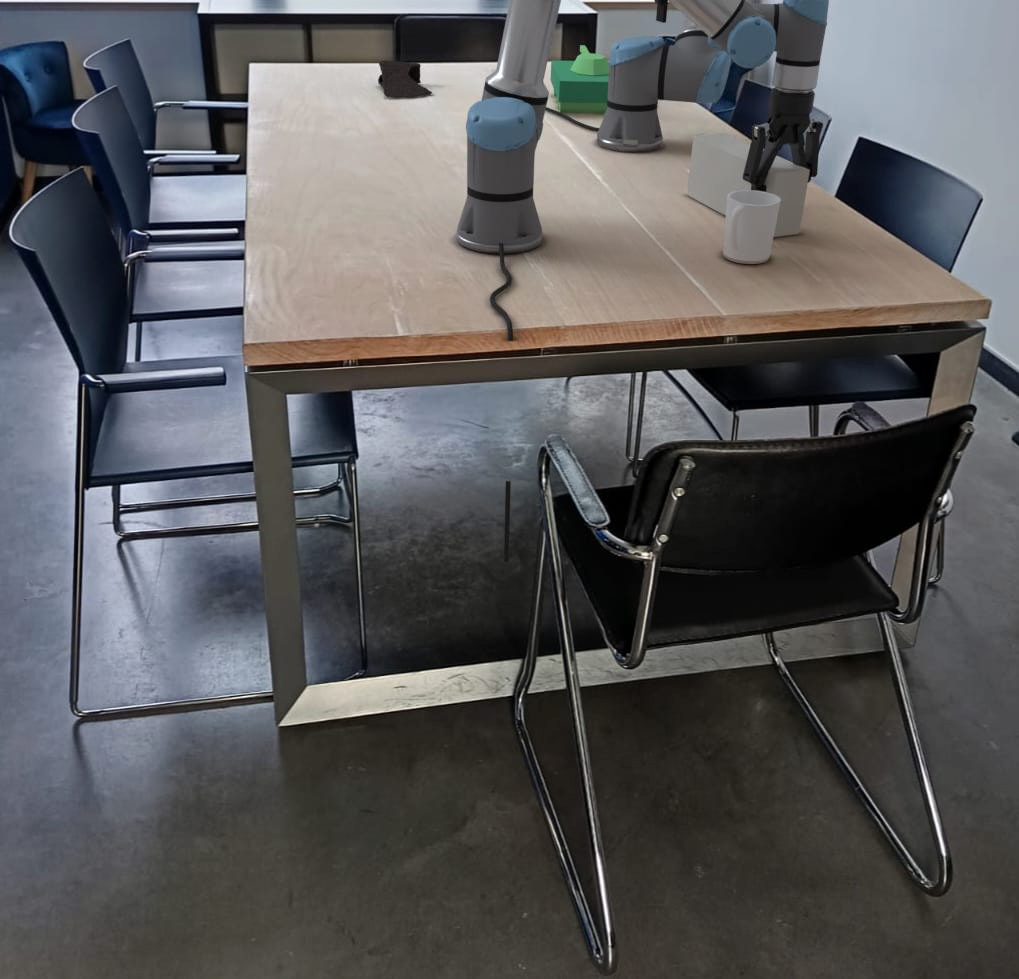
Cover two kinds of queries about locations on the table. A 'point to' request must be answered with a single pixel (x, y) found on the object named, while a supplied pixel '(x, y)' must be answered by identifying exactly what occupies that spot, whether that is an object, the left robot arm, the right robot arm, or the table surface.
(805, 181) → the box
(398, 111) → the table surface
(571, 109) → the toy tank
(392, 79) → the axe head
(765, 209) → the mug
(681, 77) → the right robot arm
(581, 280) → the table surface
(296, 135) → the table surface
